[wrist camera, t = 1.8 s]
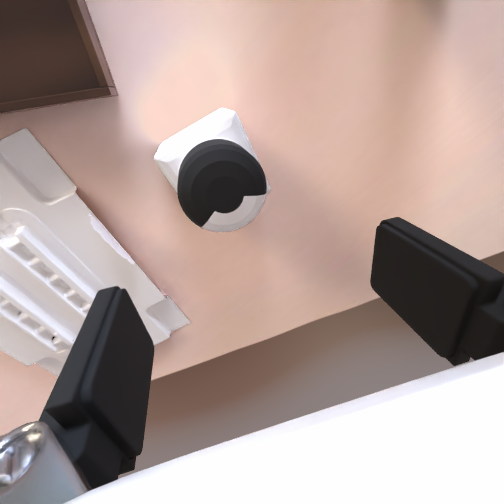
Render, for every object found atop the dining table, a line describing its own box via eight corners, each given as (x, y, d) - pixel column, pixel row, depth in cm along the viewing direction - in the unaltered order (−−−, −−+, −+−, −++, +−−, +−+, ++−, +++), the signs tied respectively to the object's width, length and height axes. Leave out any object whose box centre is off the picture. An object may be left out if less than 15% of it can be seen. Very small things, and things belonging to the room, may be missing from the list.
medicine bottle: (159, 143, 26) (142, 174, 15) (223, 106, 25) (249, 112, 15) (198, 204, 29) (206, 260, 19) (254, 172, 29) (292, 212, 19)
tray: (67, 383, 38) (56, 408, 35) (-163, 227, 24) (-217, 245, 21) (191, 321, 38) (192, 341, 35) (31, 124, 23) (6, 127, 20)
